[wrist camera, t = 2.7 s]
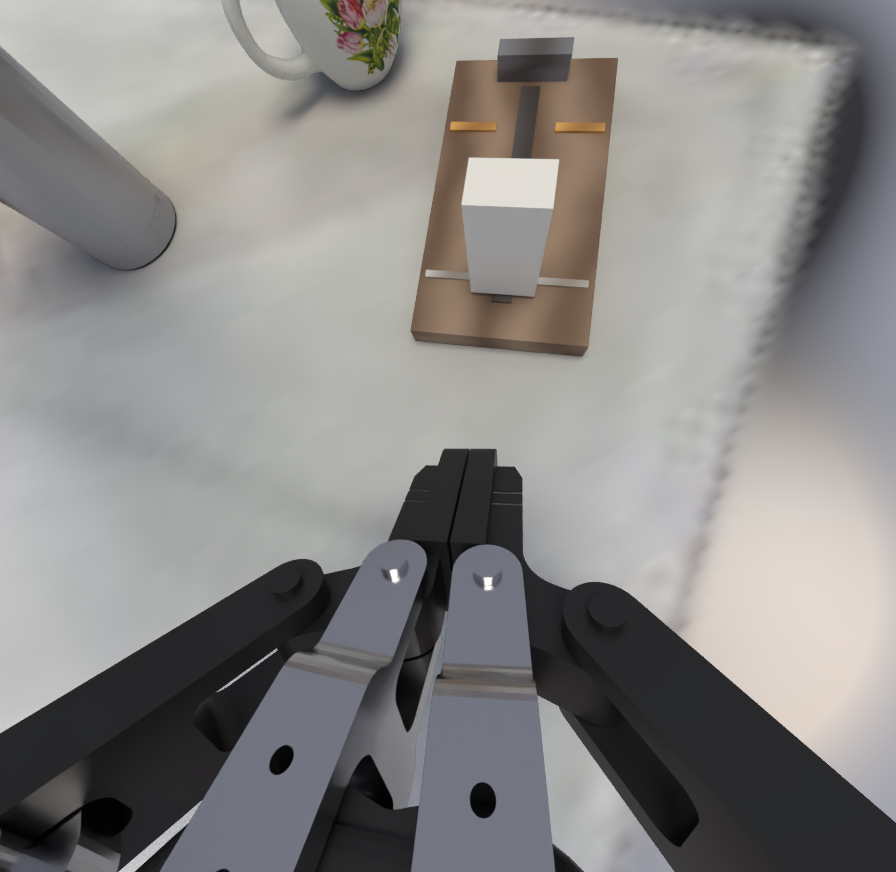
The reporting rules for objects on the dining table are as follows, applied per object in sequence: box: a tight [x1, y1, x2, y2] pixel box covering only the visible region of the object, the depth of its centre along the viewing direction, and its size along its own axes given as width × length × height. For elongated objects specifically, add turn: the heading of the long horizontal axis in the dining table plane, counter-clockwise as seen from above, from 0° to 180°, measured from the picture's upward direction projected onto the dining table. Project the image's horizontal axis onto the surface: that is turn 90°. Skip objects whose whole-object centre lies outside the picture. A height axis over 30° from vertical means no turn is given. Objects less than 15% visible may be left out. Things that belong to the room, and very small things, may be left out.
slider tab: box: [461, 157, 559, 297], centre depth 24 cm, size 5×3×9 cm, turn 81°
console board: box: [411, 37, 618, 356], centre depth 30 cm, size 14×26×4 cm, turn 171°
